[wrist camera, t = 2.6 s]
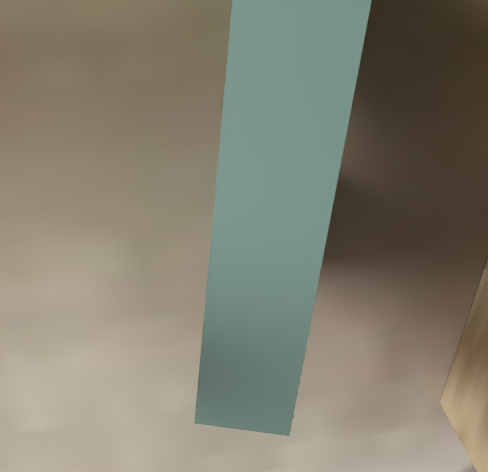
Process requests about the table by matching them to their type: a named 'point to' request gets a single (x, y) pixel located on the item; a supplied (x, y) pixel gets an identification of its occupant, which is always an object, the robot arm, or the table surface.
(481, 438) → the birch notched board
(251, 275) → the teal slotted plate
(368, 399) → the table surface
